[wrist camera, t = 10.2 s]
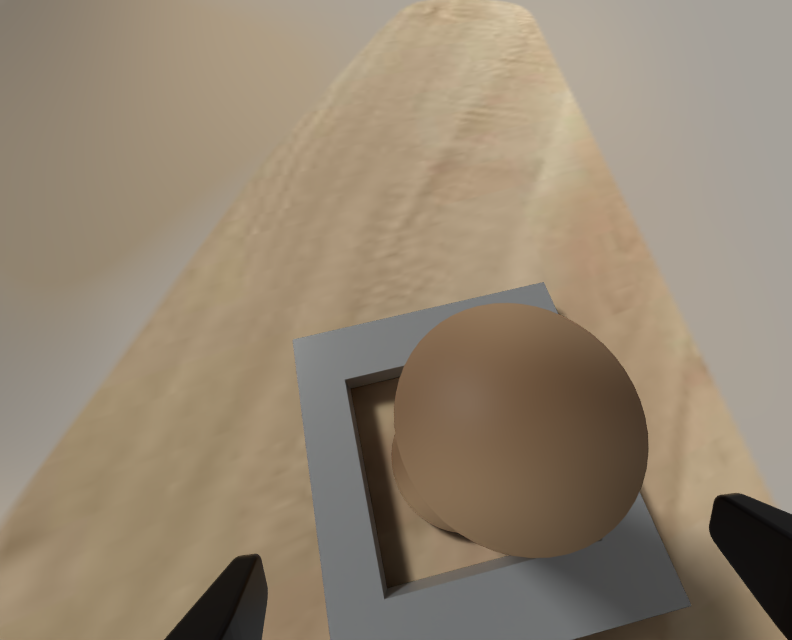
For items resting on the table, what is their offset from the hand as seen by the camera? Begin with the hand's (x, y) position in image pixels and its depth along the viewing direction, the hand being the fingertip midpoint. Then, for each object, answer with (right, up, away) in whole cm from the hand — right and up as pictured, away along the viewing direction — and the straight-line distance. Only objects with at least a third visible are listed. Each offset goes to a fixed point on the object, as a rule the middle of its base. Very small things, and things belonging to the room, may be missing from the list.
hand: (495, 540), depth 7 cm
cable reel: (+1, -3, +13) cm, 14 cm away
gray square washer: (+1, -3, +13) cm, 14 cm away
